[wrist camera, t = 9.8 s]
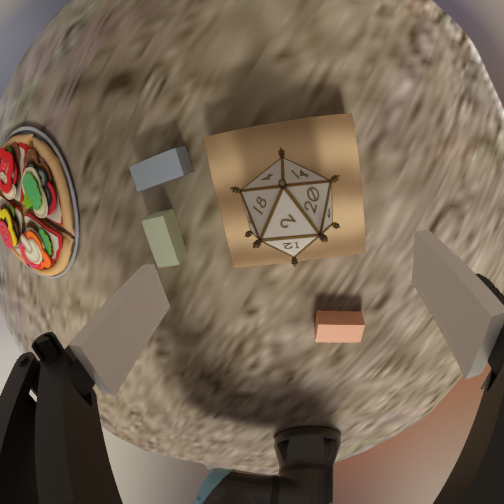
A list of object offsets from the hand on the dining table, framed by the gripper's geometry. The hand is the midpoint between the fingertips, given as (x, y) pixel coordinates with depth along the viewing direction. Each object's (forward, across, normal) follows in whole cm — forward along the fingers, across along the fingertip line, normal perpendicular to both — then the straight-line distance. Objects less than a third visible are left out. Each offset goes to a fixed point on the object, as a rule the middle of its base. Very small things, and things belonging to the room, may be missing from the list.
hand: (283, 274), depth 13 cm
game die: (+14, 0, 0) cm, 14 cm away
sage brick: (+18, +15, +2) cm, 23 cm away
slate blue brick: (+17, +13, -6) cm, 22 cm away
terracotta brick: (+18, -4, +17) cm, 25 cm away
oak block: (+17, 0, -1) cm, 17 cm away
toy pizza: (+18, +42, -8) cm, 46 cm away
